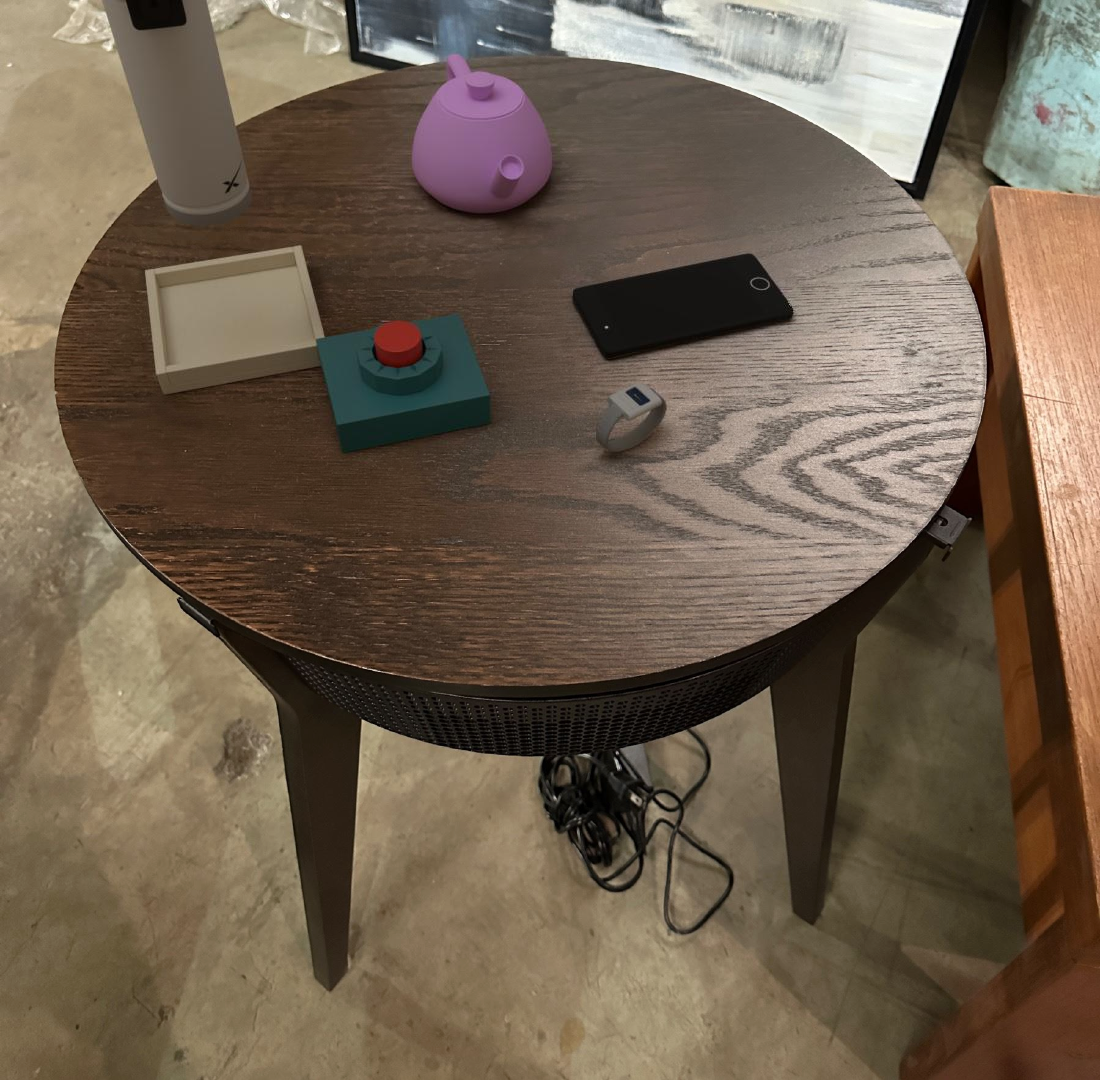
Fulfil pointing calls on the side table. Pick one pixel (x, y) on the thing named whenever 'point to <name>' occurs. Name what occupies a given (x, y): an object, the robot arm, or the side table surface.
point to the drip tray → (232, 319)
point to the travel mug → (184, 114)
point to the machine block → (403, 386)
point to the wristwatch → (631, 416)
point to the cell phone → (680, 305)
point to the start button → (398, 344)
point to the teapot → (480, 143)
